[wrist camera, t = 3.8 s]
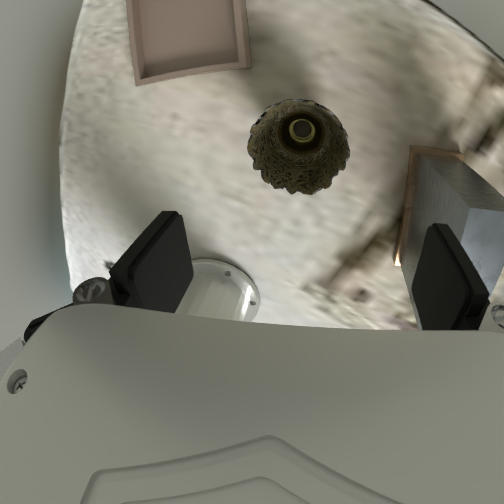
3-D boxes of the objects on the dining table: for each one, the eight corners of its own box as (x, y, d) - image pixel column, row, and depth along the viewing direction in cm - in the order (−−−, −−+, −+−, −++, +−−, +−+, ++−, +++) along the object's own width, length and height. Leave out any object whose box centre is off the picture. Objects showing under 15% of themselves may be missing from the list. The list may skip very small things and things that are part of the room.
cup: (305, 178, 30) (302, 214, 23) (249, 132, 28) (228, 154, 22) (355, 127, 26) (370, 148, 19) (297, 77, 24) (291, 78, 18)
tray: (148, 84, 27) (135, 86, 24) (138, -6, 20) (125, -9, 18) (251, 67, 24) (246, 67, 22) (241, -32, 18) (235, -39, 16)
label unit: (393, 260, 33) (414, 346, 23) (410, 145, 25) (465, 199, 15) (437, 262, 32) (469, 343, 21) (460, 152, 24) (528, 208, 13)
